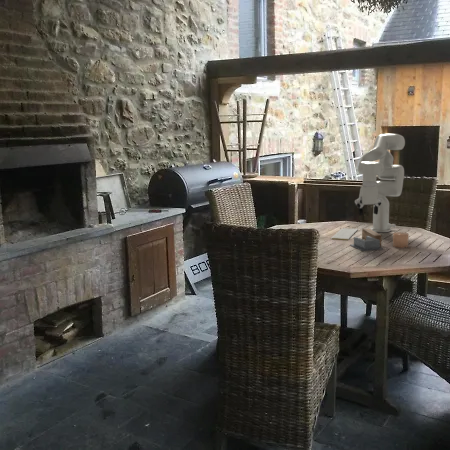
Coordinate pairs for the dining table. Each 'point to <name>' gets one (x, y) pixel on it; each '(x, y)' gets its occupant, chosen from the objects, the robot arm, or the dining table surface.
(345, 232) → the baseboard molding
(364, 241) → the bracket
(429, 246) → the dining table surface
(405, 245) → the brown round cylinder
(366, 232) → the rail
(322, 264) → the dining table surface
